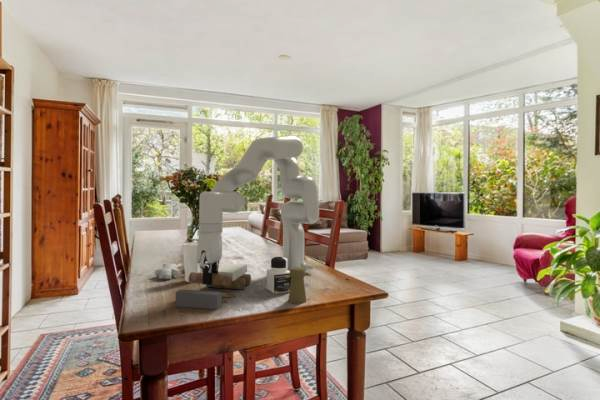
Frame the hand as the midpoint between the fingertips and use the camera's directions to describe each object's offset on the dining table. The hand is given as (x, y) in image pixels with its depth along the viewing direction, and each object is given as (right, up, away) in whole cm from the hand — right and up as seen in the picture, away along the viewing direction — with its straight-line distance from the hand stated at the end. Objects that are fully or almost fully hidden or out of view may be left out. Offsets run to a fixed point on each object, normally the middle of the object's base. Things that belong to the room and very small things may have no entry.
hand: (210, 282), depth 116 cm
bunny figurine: (-25, -5, +29) cm, 38 cm away
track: (+2, -5, +9) cm, 10 cm away
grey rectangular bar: (-2, -6, -8) cm, 10 cm away
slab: (+3, -1, +14) cm, 14 cm away
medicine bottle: (+23, -6, +10) cm, 25 cm away
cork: (+29, -6, -2) cm, 30 cm away
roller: (0, -1, 0) cm, 1 cm away
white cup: (-13, -5, +21) cm, 26 cm away
